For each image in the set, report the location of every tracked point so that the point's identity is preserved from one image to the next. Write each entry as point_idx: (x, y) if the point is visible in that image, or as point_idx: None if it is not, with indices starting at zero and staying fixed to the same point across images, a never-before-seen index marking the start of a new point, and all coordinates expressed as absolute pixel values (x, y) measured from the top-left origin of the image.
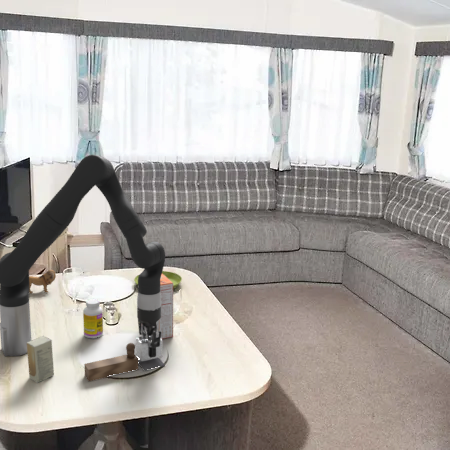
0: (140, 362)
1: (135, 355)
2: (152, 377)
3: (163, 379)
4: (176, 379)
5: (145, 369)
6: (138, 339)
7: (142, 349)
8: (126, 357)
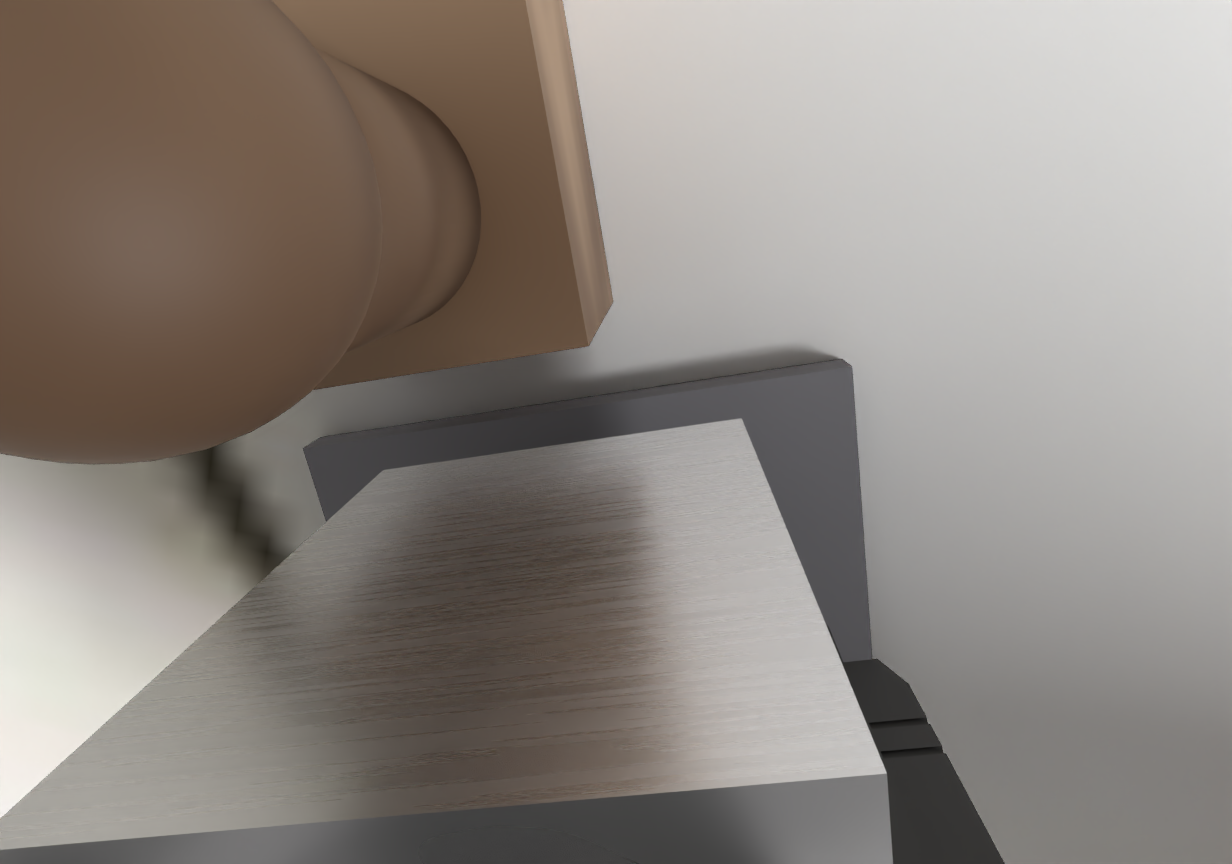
0: (578, 438)
1: (420, 368)
2: (96, 509)
3: (29, 641)
4: (25, 788)
5: (313, 464)
6: (597, 833)
7: (193, 665)
8: (347, 60)
